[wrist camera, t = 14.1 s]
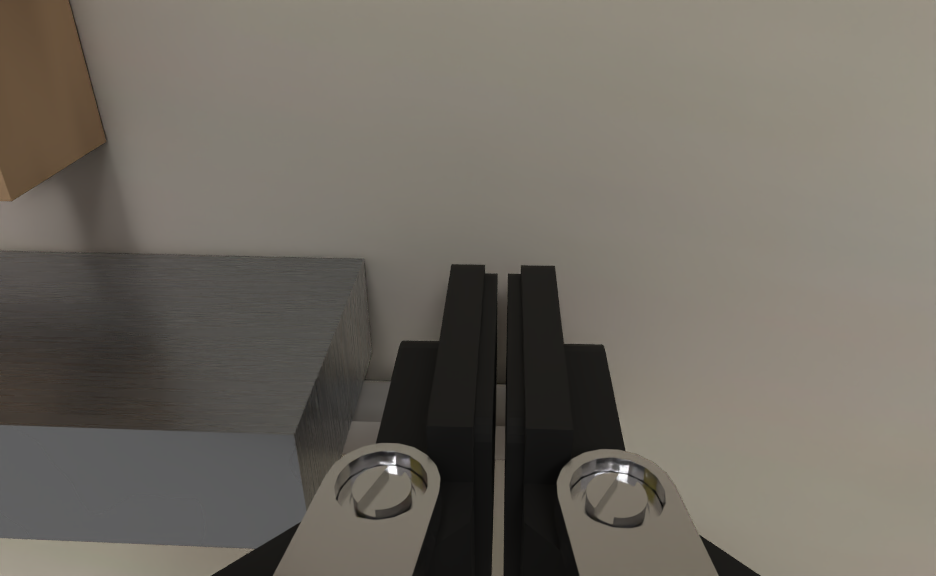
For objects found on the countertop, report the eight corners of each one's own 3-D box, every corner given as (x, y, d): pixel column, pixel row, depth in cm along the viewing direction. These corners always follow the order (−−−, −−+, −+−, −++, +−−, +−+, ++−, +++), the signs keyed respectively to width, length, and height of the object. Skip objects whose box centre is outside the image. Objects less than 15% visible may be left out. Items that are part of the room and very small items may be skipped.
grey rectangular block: (-134, 248, 13) (-425, 410, 9) (363, 259, 12) (293, 435, 8) (-90, 340, 14) (-332, 523, 10) (372, 353, 13) (313, 550, 9)
